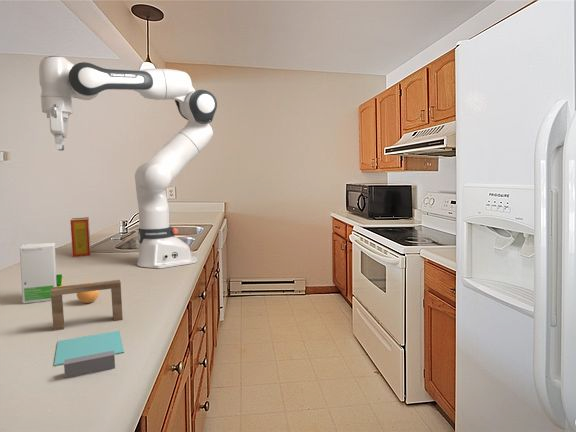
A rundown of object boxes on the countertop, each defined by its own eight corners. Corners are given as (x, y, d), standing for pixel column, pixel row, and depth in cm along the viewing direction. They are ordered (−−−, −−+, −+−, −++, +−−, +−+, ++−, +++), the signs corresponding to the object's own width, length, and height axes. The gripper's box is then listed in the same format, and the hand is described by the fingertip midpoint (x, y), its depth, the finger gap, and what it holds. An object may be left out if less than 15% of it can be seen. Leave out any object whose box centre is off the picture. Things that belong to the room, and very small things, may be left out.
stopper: (114, 363, 75) (113, 350, 75) (115, 367, 74) (114, 354, 73) (65, 373, 72) (64, 359, 72) (65, 378, 70) (64, 364, 70)
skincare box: (22, 304, 110) (17, 248, 108) (24, 297, 116) (20, 244, 114) (57, 299, 114) (53, 245, 112) (58, 293, 119) (54, 241, 118)
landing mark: (119, 331, 91) (119, 330, 90) (124, 352, 80) (123, 351, 80) (57, 341, 85) (57, 340, 85) (54, 366, 75) (54, 365, 75)
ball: (99, 298, 115) (98, 279, 114) (99, 303, 110) (98, 283, 109) (77, 301, 112) (76, 281, 112) (77, 306, 107) (75, 286, 107)
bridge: (54, 326, 94) (51, 287, 93) (121, 315, 100) (119, 279, 99) (53, 330, 91) (50, 290, 90) (122, 319, 98) (120, 282, 97)
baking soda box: (89, 255, 174) (87, 218, 172) (72, 257, 171) (70, 219, 169) (90, 251, 182) (88, 216, 181) (74, 253, 180) (71, 217, 178)
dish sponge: (34, 295, 120) (33, 287, 120) (37, 283, 132) (37, 276, 132) (61, 291, 123) (61, 283, 123) (62, 281, 135) (62, 273, 135)
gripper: (66, 103, 126) (69, 148, 128) (69, 112, 144) (72, 151, 146) (42, 102, 123) (46, 148, 125) (48, 111, 141) (51, 151, 143)
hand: (60, 149), depth 135 cm, fingers open, 8 cm apart
